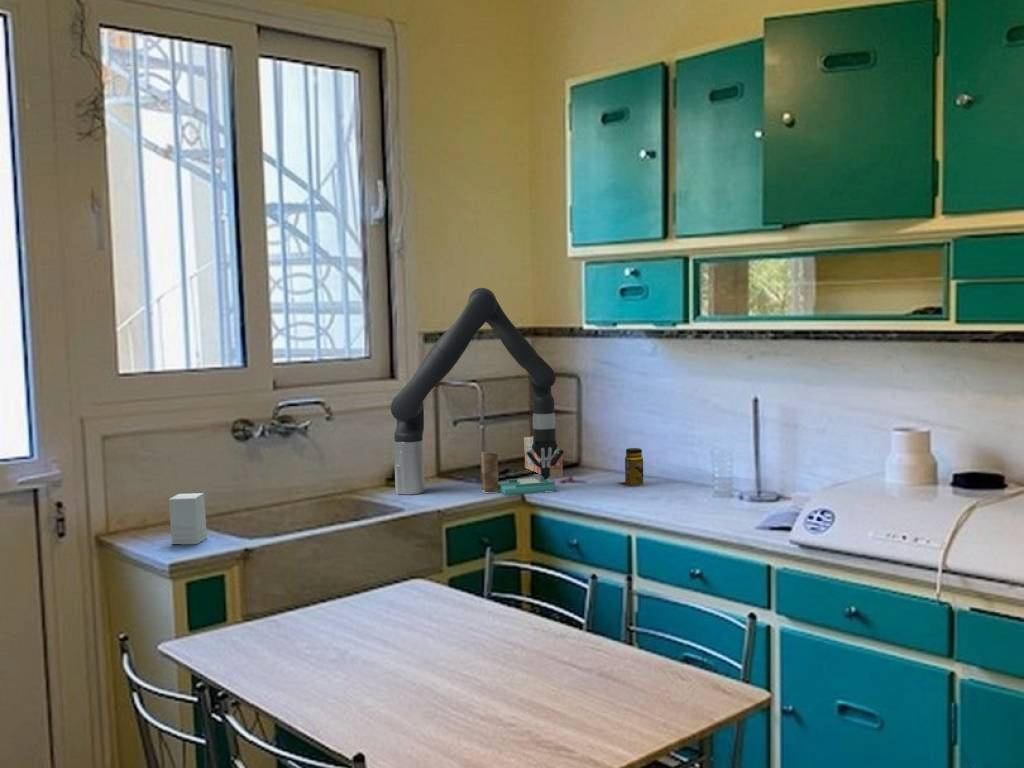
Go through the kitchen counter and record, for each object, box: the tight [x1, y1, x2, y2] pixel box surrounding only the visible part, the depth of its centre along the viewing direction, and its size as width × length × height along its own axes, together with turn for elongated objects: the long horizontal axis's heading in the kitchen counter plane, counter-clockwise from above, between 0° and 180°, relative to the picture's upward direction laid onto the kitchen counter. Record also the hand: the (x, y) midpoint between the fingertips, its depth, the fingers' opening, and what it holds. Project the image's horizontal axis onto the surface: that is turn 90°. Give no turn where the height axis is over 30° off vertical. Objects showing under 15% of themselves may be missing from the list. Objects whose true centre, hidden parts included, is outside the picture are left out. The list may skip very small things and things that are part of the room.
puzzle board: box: [498, 477, 557, 496], centre depth 331 cm, size 17×12×3 cm
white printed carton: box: [523, 436, 564, 479], centre depth 362 cm, size 21×6×12 cm, turn 21°
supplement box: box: [168, 492, 208, 545], centre depth 272 cm, size 7×7×13 cm
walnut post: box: [480, 450, 500, 493], centre depth 330 cm, size 4×4×13 cm
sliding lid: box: [516, 473, 544, 484], centre depth 332 cm, size 8×8×2 cm
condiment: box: [616, 447, 647, 488], centre depth 336 cm, size 7×8×12 cm
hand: (545, 478), depth 333 cm, fingers closed
